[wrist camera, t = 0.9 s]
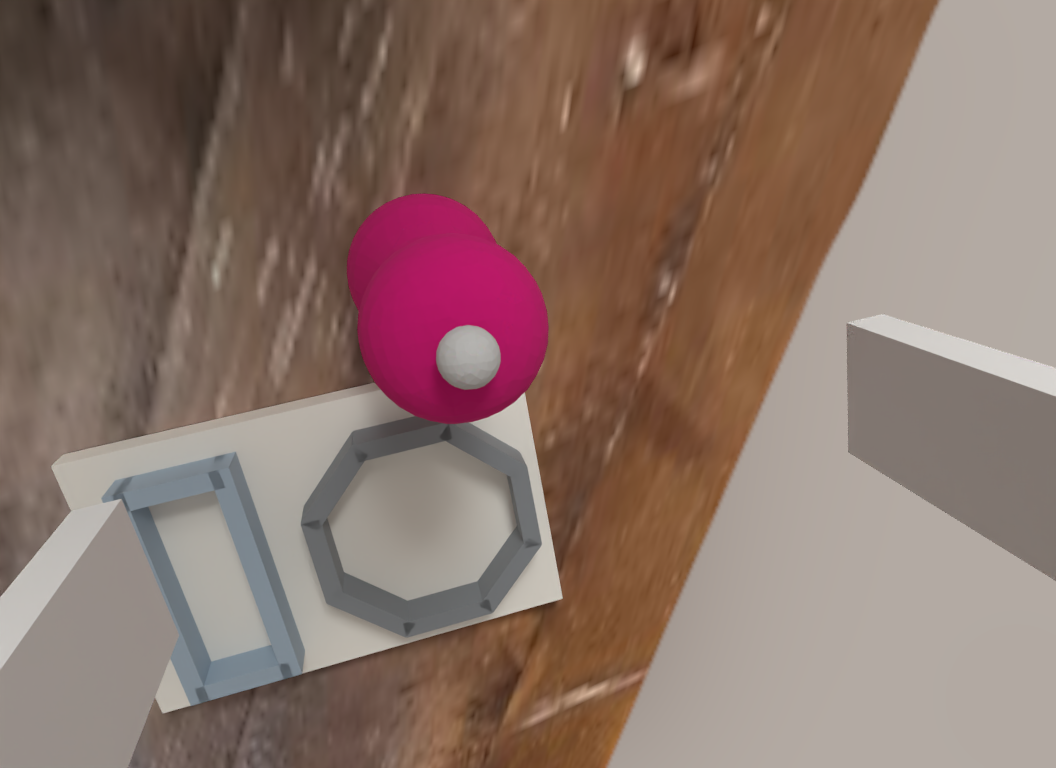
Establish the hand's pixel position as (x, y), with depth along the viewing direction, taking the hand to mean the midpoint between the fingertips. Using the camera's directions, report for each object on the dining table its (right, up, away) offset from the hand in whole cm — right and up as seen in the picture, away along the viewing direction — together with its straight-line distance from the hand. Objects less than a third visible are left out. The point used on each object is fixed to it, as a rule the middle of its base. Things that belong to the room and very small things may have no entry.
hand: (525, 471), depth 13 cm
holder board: (-11, -7, +28) cm, 31 cm away
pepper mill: (-6, +8, +25) cm, 27 cm away
